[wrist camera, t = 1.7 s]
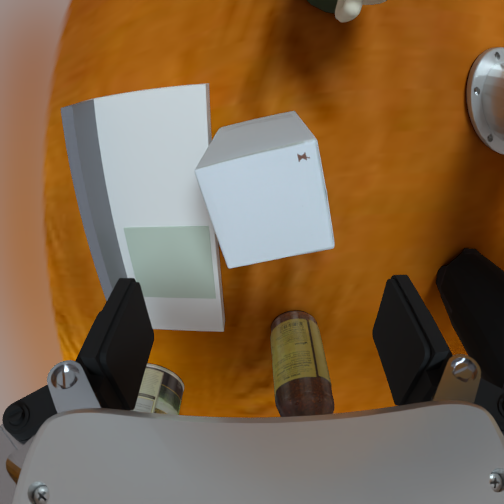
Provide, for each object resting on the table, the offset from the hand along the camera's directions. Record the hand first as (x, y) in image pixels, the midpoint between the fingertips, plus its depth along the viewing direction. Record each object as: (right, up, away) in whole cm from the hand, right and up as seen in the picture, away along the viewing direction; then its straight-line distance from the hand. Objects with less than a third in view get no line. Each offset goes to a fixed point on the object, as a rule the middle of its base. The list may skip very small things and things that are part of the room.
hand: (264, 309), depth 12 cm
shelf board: (-10, +5, +22) cm, 25 cm away
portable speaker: (+27, 0, +25) cm, 37 cm away
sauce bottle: (+5, -7, +29) cm, 31 cm away
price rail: (-15, +4, +20) cm, 26 cm away
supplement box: (+1, +11, +18) cm, 21 cm away
